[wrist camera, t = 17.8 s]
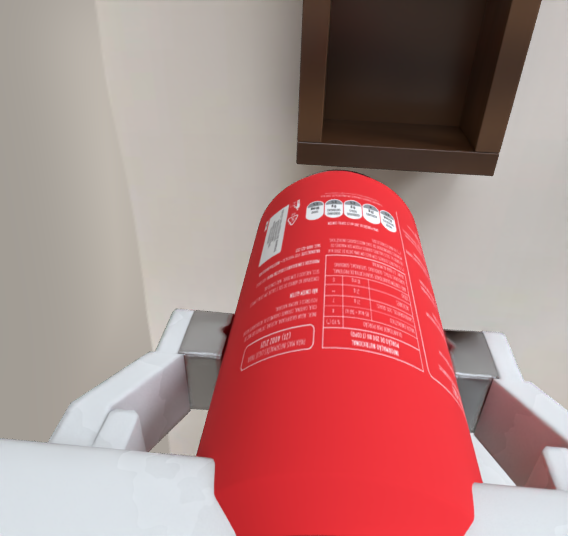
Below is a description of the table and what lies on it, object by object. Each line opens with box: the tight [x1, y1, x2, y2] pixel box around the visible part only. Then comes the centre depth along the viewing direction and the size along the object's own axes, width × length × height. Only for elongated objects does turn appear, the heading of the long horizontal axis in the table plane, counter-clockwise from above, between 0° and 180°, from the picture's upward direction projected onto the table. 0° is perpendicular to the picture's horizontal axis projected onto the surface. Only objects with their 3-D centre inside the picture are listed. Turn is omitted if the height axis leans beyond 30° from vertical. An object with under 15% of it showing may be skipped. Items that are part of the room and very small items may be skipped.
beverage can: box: [196, 170, 483, 536], centre depth 12 cm, size 5×5×12 cm
